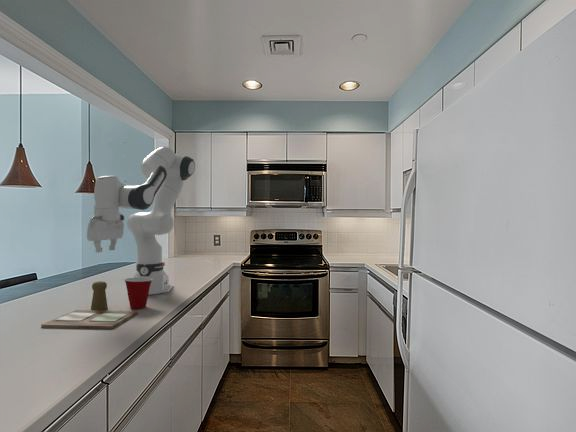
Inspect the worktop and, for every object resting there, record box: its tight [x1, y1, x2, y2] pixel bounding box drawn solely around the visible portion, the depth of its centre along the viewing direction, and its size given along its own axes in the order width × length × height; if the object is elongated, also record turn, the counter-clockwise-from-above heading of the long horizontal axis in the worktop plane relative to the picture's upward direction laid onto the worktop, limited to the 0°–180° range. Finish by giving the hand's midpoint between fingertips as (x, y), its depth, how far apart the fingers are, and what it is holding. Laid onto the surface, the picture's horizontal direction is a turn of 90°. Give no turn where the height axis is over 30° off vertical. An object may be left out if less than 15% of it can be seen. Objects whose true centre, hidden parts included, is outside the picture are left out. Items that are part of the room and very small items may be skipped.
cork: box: [90, 280, 109, 311], centre depth 138 cm, size 6×6×11 cm
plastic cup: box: [123, 277, 153, 310], centre depth 142 cm, size 11×11×12 cm
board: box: [40, 309, 139, 330], centre depth 124 cm, size 18×24×1 cm
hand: (105, 251), depth 138 cm, fingers open, 8 cm apart
